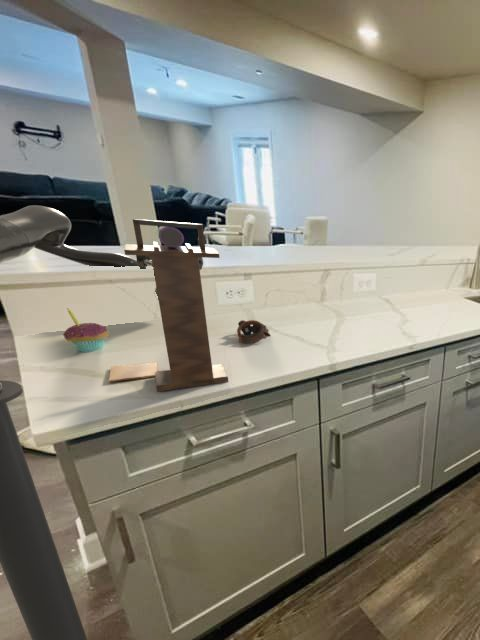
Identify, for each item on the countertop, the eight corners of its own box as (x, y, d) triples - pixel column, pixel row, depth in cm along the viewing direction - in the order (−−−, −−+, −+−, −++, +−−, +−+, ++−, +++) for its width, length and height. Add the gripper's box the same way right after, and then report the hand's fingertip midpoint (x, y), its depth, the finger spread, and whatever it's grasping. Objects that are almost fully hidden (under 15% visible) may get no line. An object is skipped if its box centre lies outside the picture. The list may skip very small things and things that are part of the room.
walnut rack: (151, 392, 88) (118, 220, 75) (150, 377, 94) (120, 216, 81) (232, 381, 98) (216, 227, 85) (227, 368, 104) (211, 223, 91)
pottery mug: (280, 341, 128) (272, 325, 121) (256, 360, 123) (247, 344, 116) (254, 324, 130) (245, 308, 124) (230, 342, 125) (219, 326, 118)
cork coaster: (109, 382, 90) (108, 380, 90) (111, 368, 96) (110, 366, 96) (158, 376, 96) (158, 374, 95) (157, 363, 102) (157, 362, 102)
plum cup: (158, 243, 93) (155, 223, 91) (181, 244, 95) (178, 225, 94) (160, 246, 84) (156, 225, 83) (185, 248, 87) (182, 227, 85)
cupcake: (73, 357, 99) (58, 313, 95) (65, 347, 104) (51, 304, 99) (116, 349, 106) (104, 308, 101) (108, 340, 110) (96, 300, 106)
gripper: (203, 284, 117) (205, 265, 105) (142, 284, 108) (136, 264, 96) (199, 261, 118) (201, 239, 105) (137, 259, 109) (131, 235, 96)
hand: (170, 251), depth 100 cm, fingers open, 8 cm apart
